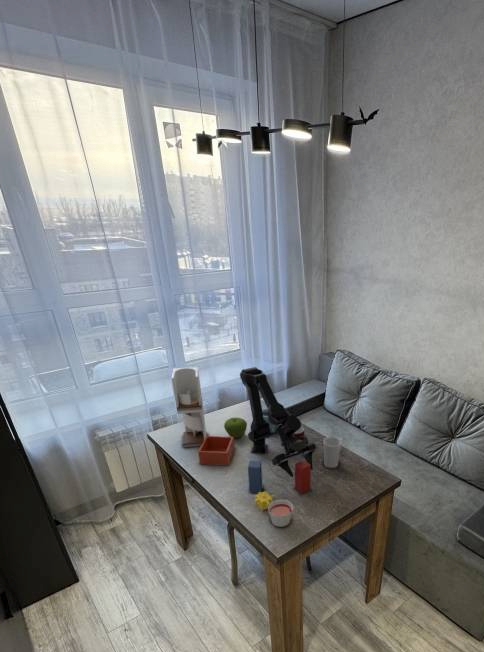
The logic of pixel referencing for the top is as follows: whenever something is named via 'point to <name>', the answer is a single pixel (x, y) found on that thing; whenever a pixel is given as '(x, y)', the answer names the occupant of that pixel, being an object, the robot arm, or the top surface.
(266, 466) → the top surface
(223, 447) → the red bin
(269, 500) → the toy block
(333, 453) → the cup
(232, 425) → the apple
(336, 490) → the top surface
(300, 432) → the mug
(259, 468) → the blue block
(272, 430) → the mug
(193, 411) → the arched white lantern
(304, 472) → the red block
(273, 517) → the candle
